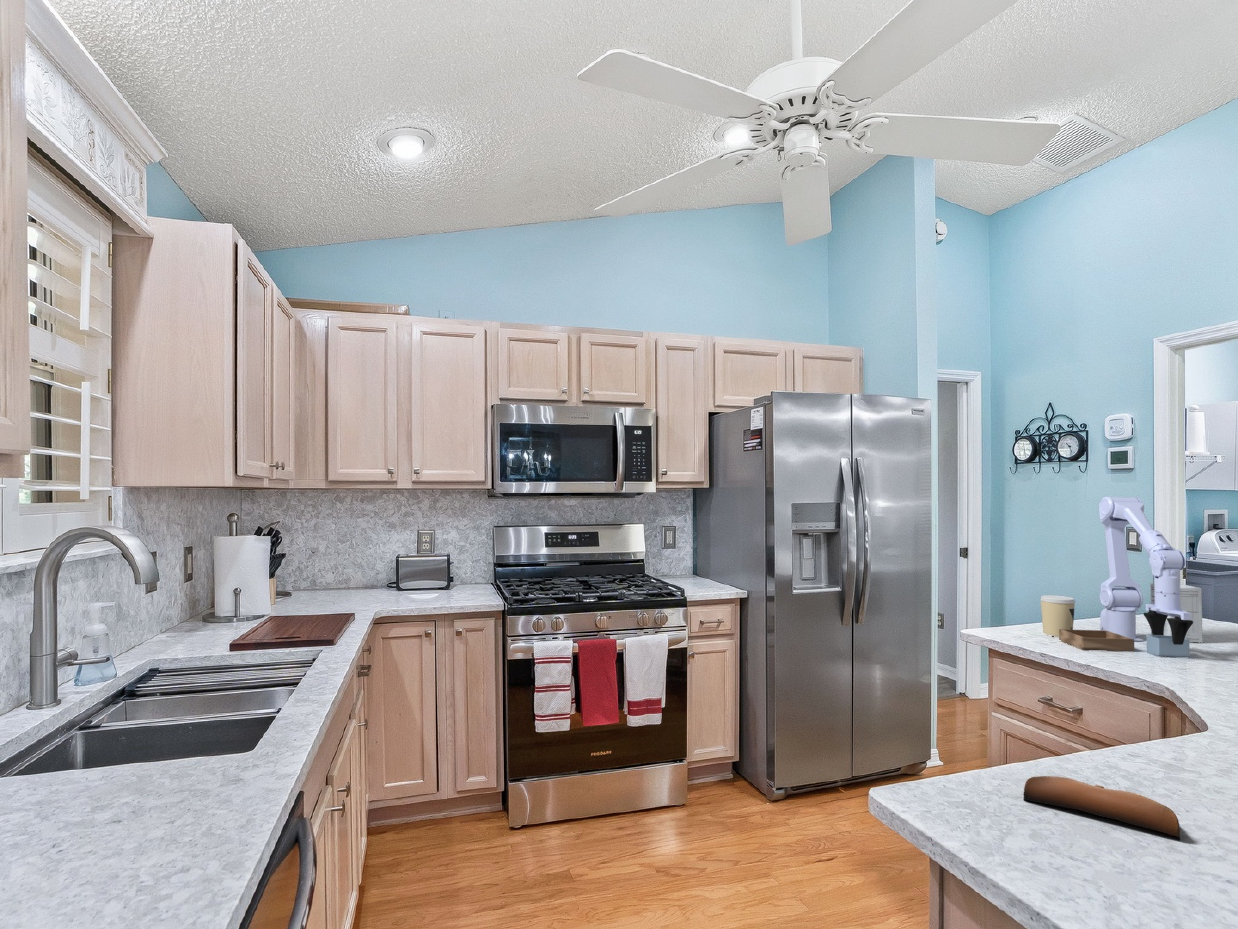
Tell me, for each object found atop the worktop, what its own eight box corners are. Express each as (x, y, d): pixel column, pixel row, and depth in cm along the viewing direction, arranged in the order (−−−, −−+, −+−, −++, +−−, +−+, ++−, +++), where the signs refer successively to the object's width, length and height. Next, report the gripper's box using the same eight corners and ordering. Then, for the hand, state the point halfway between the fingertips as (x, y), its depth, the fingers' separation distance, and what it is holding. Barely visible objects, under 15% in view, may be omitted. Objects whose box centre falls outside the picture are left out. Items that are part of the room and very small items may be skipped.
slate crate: (1146, 652, 195) (1146, 635, 195) (1176, 653, 194) (1175, 635, 194) (1159, 657, 190) (1159, 638, 190) (1189, 658, 189) (1189, 639, 189)
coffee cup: (1079, 640, 210) (1079, 600, 210) (1044, 637, 213) (1044, 598, 213) (1070, 633, 219) (1070, 596, 219) (1036, 631, 222) (1036, 594, 222)
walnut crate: (1059, 640, 208) (1059, 629, 208) (1107, 642, 207) (1107, 630, 207) (1083, 650, 196) (1083, 638, 196) (1134, 651, 195) (1134, 639, 195)
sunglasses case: (1178, 817, 96) (1178, 784, 94) (1180, 861, 91) (1181, 828, 89) (1029, 781, 107) (1026, 751, 104) (1024, 820, 102) (1021, 789, 100)
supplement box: (1182, 636, 217) (1181, 583, 217) (1203, 643, 208) (1203, 587, 208) (1149, 635, 218) (1149, 582, 218) (1170, 642, 209) (1169, 587, 209)
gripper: (1134, 588, 200) (1135, 635, 199) (1171, 596, 185) (1172, 646, 185) (1159, 589, 199) (1160, 636, 199) (1198, 597, 185) (1199, 647, 185)
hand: (1167, 641), depth 192 cm, fingers open, 7 cm apart
